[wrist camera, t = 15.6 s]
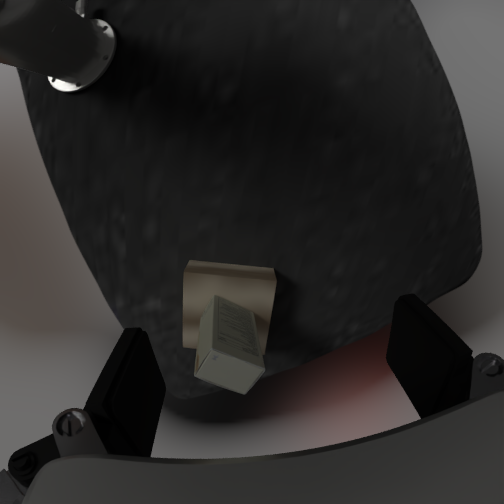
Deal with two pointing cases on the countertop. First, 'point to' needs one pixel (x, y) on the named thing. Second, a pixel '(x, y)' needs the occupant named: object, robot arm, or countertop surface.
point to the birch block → (227, 294)
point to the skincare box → (228, 346)
